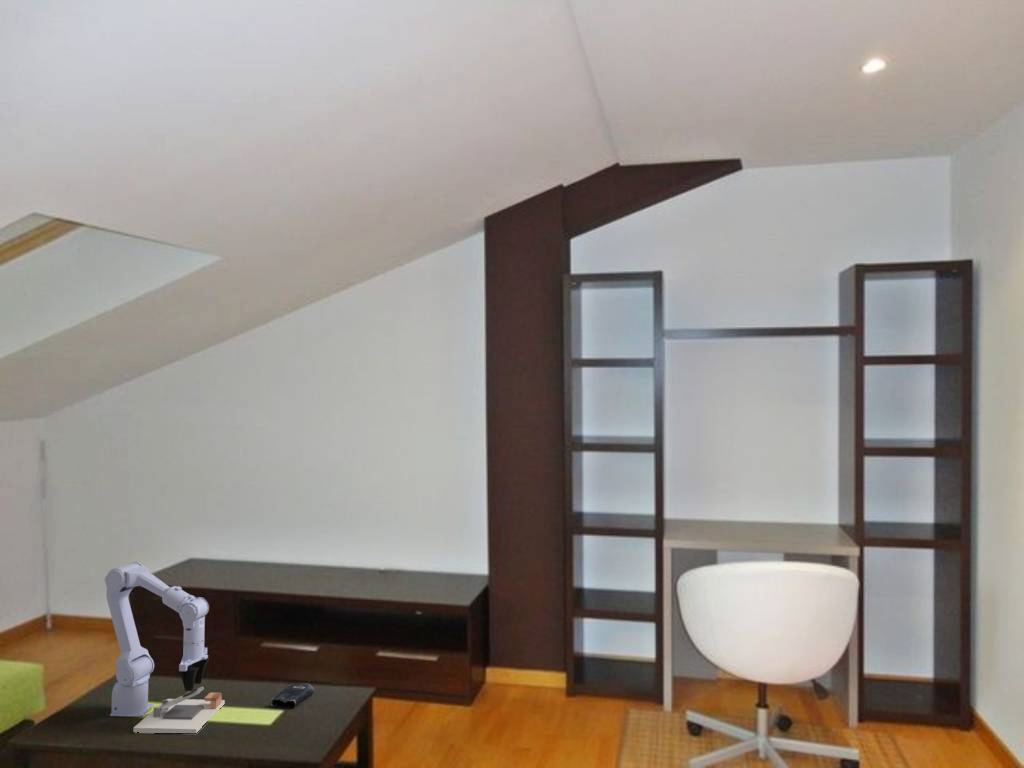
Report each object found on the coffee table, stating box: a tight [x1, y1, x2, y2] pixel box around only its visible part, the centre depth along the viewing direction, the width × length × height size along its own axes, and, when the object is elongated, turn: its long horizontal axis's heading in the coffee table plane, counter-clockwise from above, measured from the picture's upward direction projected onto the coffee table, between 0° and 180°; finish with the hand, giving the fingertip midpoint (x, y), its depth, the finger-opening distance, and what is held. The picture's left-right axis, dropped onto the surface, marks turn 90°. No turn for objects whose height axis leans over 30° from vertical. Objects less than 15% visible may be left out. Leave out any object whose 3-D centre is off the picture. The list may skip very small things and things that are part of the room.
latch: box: [204, 692, 223, 708], centre depth 229 cm, size 4×4×3 cm
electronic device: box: [268, 682, 315, 709], centre depth 239 cm, size 9×6×15 cm
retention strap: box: [158, 686, 205, 711], centre depth 224 cm, size 14×4×2 cm, turn 90°
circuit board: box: [132, 698, 226, 734], centre depth 224 cm, size 18×20×4 cm
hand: (193, 686), depth 224 cm, fingers open, 5 cm apart
